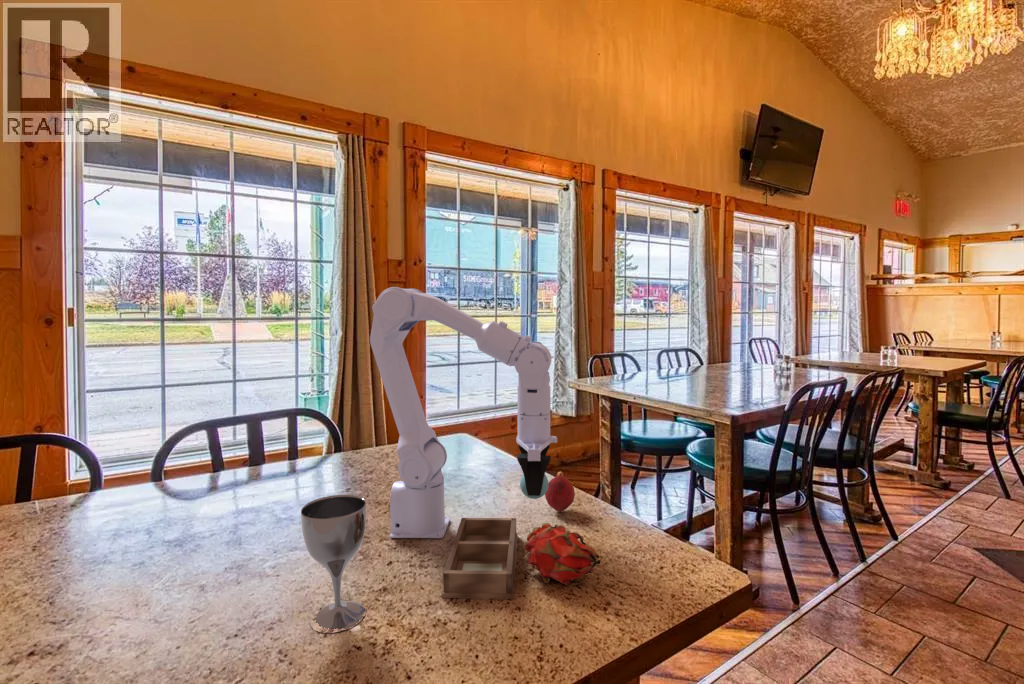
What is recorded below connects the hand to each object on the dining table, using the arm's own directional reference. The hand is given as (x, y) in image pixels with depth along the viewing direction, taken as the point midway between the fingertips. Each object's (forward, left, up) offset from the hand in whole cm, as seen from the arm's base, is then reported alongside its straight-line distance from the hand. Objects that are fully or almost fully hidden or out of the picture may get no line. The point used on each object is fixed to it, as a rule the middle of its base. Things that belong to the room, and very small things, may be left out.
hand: (534, 488), depth 89 cm
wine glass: (-26, -24, -9) cm, 36 cm away
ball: (0, 0, +1) cm, 1 cm away
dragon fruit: (+4, -13, -9) cm, 16 cm away
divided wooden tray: (-8, -10, -9) cm, 15 cm away
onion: (+5, +10, -9) cm, 14 cm away
